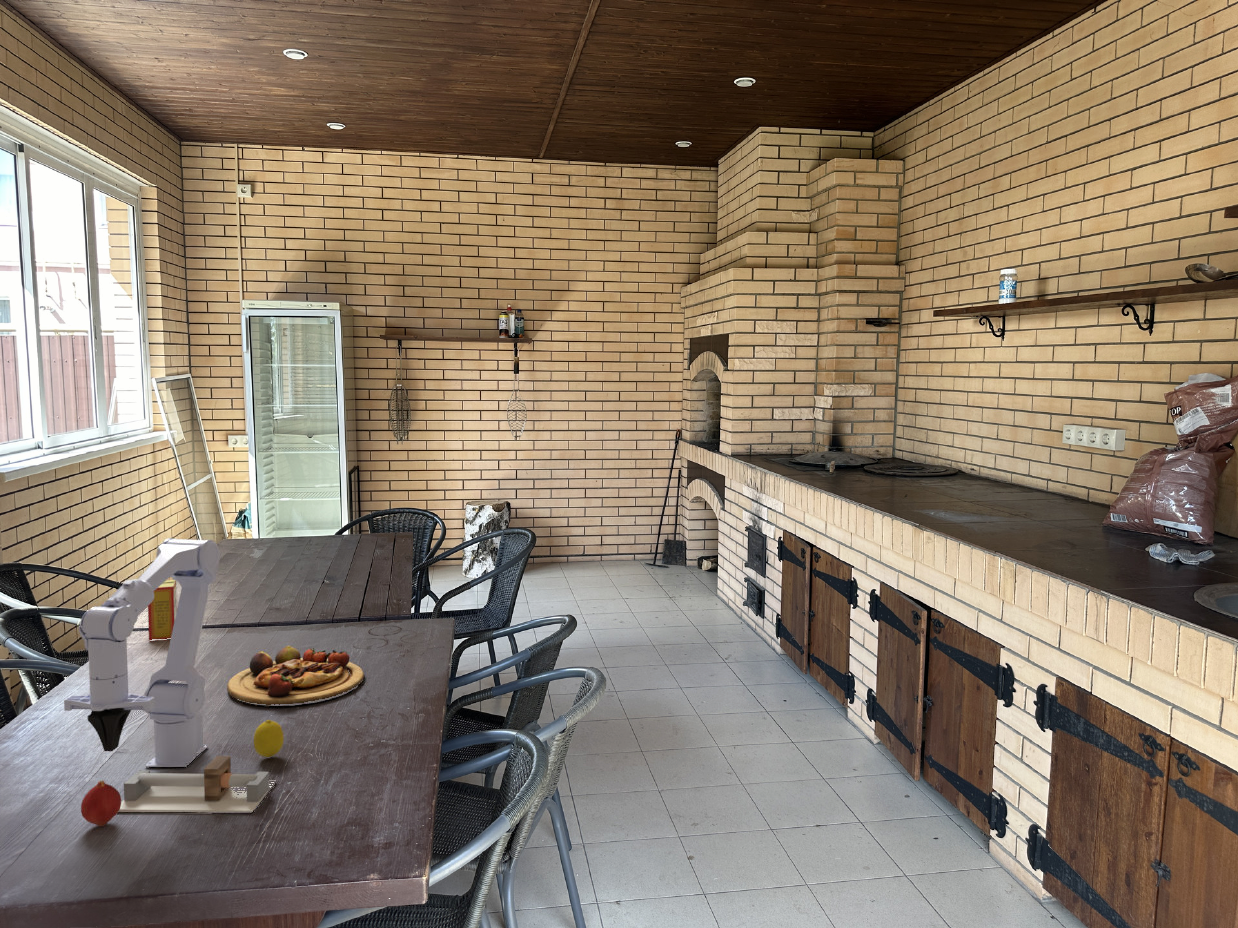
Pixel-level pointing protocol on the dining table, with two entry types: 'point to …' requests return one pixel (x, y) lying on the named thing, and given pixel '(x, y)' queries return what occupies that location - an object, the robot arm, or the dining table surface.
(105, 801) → the red pomegranate
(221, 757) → the collar
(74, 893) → the dining table surface
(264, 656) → the wooden plate with food
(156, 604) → the baking soda box
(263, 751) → the lemon
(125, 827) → the dining table surface
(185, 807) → the rail
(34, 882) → the dining table surface
